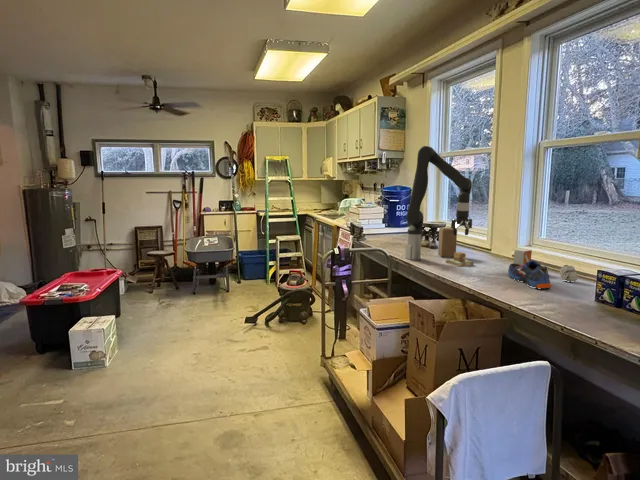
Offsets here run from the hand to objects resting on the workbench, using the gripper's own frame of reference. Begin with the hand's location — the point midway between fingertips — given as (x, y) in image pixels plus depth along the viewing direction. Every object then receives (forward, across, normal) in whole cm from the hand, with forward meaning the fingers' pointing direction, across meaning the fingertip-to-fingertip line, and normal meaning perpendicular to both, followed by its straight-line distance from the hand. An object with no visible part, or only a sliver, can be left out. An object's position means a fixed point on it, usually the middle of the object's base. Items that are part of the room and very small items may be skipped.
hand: (460, 235), depth 264 cm
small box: (+18, +21, -30) cm, 41 cm away
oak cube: (+17, 0, 0) cm, 17 cm away
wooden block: (+19, +8, +24) cm, 32 cm away
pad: (+19, 0, 0) cm, 19 cm away
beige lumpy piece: (+17, +26, -57) cm, 65 cm away
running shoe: (+18, +5, -52) cm, 55 cm away
